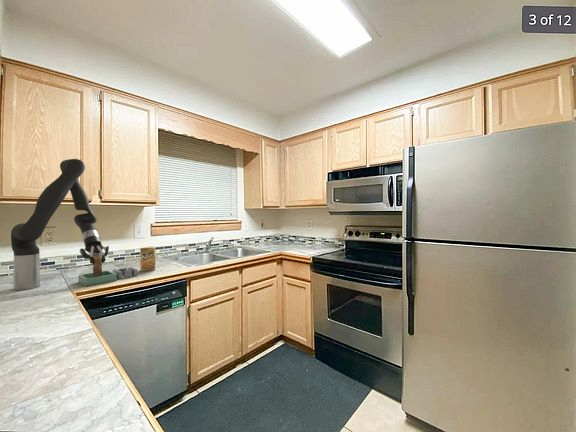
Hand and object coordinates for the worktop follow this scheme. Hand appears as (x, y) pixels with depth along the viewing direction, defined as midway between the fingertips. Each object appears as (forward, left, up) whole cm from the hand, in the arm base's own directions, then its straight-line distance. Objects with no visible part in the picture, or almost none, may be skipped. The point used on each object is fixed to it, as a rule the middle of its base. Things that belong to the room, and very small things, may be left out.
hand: (98, 262), depth 140 cm
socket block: (+14, +3, -11) cm, 18 cm away
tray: (0, +2, -11) cm, 11 cm away
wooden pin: (0, +2, -9) cm, 9 cm away
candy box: (+30, +9, -11) cm, 33 cm away
